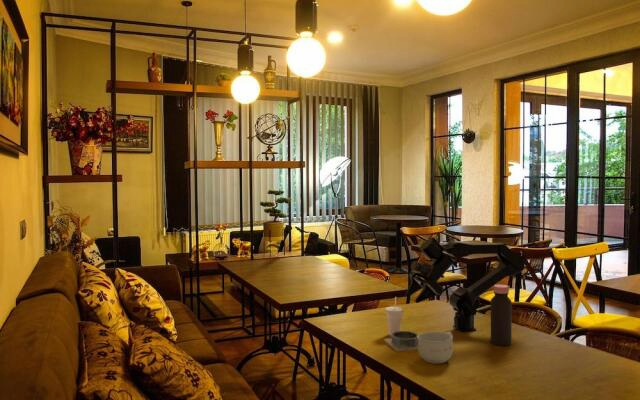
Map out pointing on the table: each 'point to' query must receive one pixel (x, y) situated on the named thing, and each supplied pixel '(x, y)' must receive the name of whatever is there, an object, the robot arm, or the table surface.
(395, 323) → the smoothie
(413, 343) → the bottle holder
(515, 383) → the table surface
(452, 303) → the robot arm
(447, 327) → the table surface
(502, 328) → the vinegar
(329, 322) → the table surface
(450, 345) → the teacup
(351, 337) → the table surface
